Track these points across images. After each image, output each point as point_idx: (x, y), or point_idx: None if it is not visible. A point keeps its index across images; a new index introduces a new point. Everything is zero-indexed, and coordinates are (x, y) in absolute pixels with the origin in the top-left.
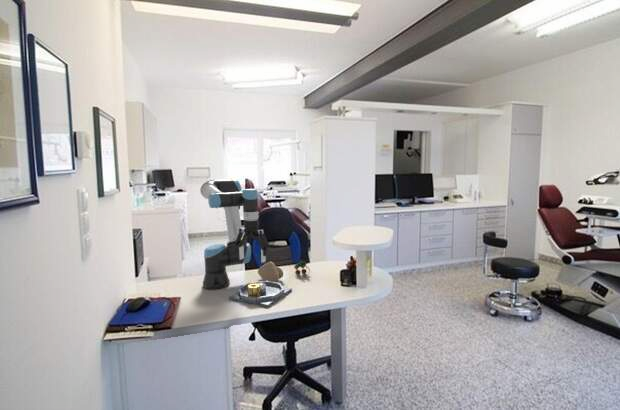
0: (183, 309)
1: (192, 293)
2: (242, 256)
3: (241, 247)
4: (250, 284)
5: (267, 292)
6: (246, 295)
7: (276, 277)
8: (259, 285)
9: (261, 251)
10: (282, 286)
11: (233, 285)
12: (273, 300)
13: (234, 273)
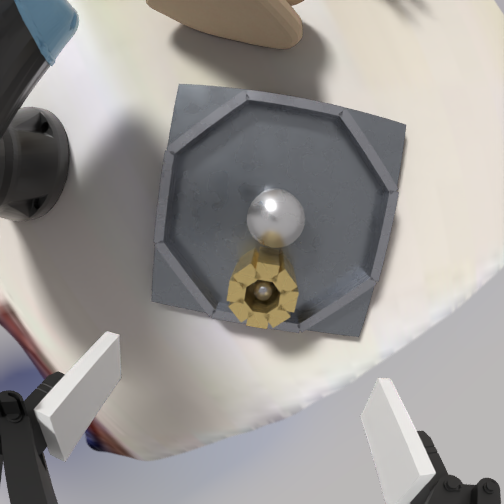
0: None
1: (13, 268)
2: (110, 368)
3: (63, 443)
4: (234, 283)
5: (308, 206)
6: None
7: (293, 42)
8: (294, 285)
9: (389, 498)
10: (378, 156)
11: (86, 139)
12: (370, 291)
13: None
